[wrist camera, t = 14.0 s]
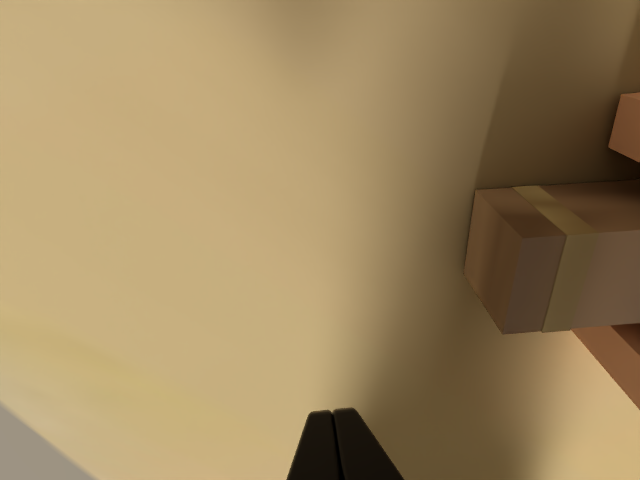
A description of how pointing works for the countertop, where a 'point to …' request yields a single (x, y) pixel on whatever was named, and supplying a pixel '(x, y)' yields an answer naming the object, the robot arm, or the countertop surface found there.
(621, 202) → the tan long bar
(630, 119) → the pink bridge block
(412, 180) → the countertop surface
